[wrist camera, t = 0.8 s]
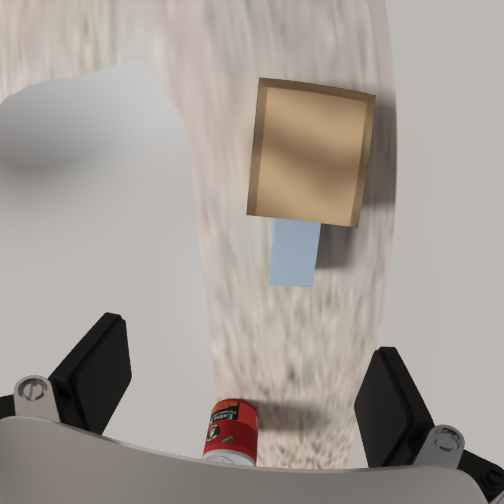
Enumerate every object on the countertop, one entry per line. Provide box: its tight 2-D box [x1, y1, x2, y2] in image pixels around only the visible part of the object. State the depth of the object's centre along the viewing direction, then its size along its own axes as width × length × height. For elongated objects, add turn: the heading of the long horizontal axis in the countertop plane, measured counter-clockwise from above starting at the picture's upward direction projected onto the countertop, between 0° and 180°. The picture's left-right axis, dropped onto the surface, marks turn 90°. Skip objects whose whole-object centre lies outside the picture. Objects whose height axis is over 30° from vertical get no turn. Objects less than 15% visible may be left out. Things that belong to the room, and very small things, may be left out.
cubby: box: [246, 78, 376, 228], centre depth 29 cm, size 12×10×8 cm
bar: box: [270, 218, 321, 287], centre depth 34 cm, size 12×4×5 cm, turn 177°
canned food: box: [203, 399, 259, 466], centre depth 43 cm, size 8×8×11 cm
